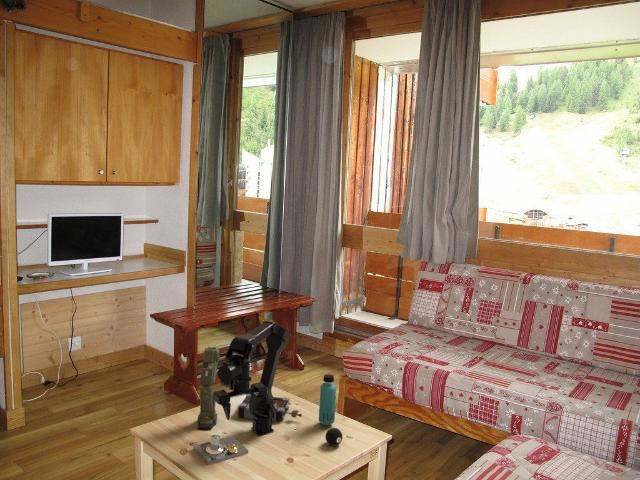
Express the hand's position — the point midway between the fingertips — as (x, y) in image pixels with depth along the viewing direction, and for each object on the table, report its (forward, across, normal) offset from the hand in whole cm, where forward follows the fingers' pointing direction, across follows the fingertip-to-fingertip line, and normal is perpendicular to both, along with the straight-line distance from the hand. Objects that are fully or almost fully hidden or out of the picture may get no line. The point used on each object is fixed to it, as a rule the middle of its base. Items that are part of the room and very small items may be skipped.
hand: (239, 416), depth 189 cm
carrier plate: (+12, +6, -2) cm, 14 cm away
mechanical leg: (+12, +1, -24) cm, 27 cm away
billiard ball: (+12, -31, +14) cm, 36 cm away
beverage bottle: (+12, -38, 0) cm, 40 cm away
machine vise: (+13, -25, -19) cm, 33 cm away
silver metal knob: (+11, +9, 0) cm, 14 cm away
